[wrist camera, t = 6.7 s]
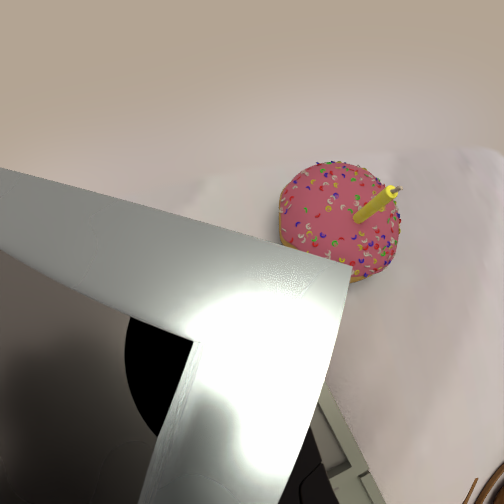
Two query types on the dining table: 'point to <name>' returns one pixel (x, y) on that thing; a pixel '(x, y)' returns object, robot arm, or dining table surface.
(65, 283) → the block
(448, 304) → the dining table surface
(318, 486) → the robot arm
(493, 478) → the place setting
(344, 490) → the case
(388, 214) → the cupcake
